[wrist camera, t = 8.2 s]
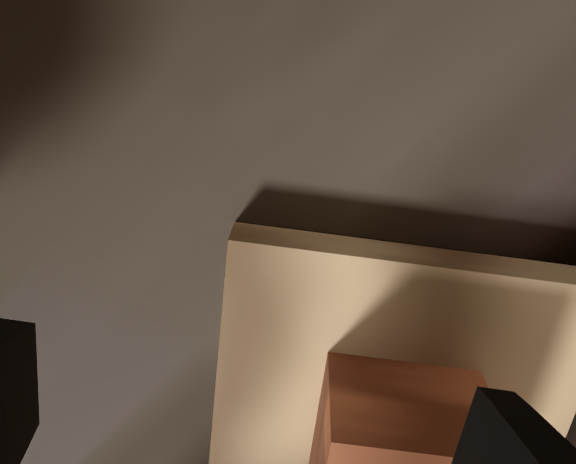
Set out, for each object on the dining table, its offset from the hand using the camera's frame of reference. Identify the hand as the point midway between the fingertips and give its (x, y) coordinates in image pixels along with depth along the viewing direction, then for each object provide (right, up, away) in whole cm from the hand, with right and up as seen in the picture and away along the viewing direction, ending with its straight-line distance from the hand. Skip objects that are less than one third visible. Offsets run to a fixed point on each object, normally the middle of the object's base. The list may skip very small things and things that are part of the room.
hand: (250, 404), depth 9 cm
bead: (+4, -4, +10) cm, 11 cm away
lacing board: (+4, -3, +11) cm, 12 cm away
